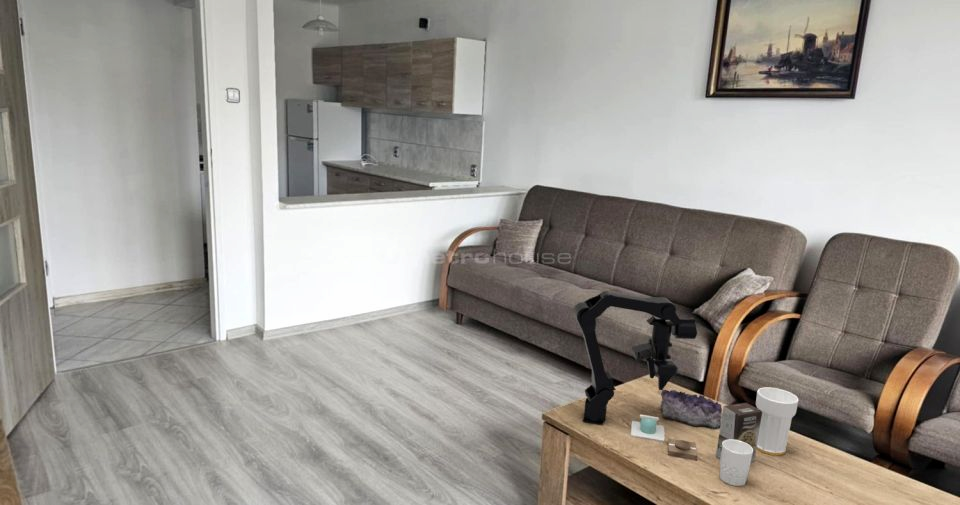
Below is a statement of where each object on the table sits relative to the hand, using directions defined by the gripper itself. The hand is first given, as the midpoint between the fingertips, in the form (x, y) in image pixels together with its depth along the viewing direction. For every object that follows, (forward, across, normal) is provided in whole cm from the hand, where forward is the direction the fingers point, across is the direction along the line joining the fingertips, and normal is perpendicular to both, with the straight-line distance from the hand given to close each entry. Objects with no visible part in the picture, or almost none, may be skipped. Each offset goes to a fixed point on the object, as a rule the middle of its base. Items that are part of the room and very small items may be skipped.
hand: (655, 383), depth 202 cm
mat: (+13, +7, -4) cm, 15 cm away
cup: (+14, +15, +32) cm, 38 cm away
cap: (+13, +7, -4) cm, 15 cm away
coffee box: (+14, +22, +18) cm, 31 cm away
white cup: (+14, +33, +12) cm, 38 cm away
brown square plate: (+13, +18, +3) cm, 23 cm away
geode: (+14, -3, +13) cm, 19 cm away
